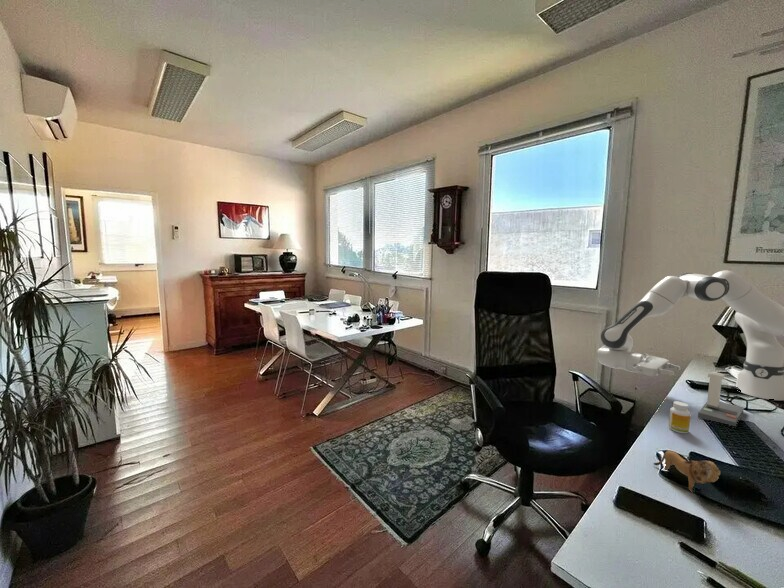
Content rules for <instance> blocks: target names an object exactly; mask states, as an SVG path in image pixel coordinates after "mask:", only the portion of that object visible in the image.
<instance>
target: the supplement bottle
mask: <svg viewBox="0 0 784 588" xmlns="http://www.w3.org/2000/svg"><path fill="white" fill-rule="evenodd" d="M668 419H669V420H668V428H669V430H671V431H673V432H675V433H679V434H688V433H689V432H690V421H691V412H690V411H689V404H687V403H685V402H683V401H678V400H676V401H673V406H672V407H670V410H669V418H668Z"/></svg>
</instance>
